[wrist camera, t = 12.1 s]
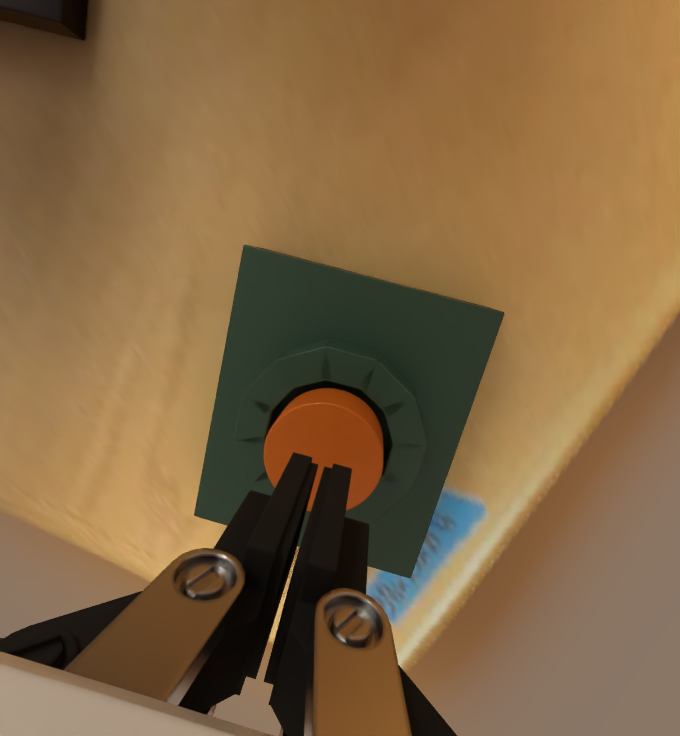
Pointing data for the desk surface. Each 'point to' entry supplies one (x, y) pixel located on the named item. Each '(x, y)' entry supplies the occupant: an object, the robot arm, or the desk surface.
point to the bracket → (48, 15)
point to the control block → (347, 386)
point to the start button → (328, 440)
